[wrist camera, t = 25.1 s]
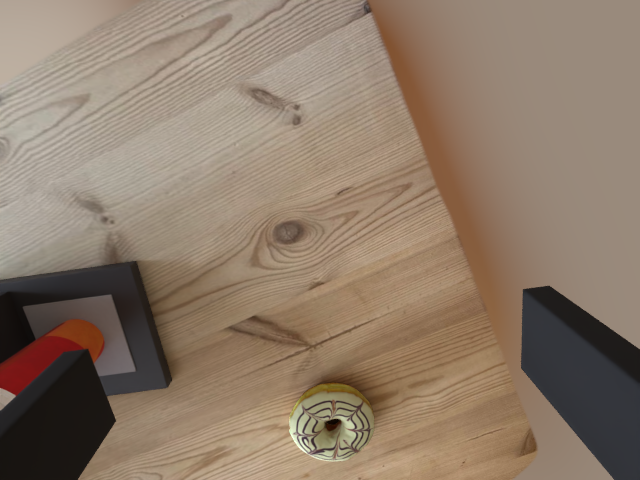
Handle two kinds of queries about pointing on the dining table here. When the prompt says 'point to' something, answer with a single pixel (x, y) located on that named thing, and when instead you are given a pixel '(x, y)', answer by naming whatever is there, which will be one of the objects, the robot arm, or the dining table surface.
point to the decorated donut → (325, 406)
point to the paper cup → (47, 355)
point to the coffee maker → (97, 308)
